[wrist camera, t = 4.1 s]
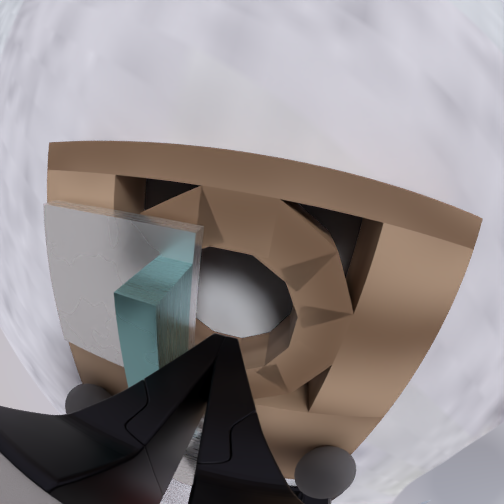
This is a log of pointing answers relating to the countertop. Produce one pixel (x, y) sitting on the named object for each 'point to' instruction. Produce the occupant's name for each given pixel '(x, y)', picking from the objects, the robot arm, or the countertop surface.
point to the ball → (190, 458)
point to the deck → (296, 276)
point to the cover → (124, 283)
